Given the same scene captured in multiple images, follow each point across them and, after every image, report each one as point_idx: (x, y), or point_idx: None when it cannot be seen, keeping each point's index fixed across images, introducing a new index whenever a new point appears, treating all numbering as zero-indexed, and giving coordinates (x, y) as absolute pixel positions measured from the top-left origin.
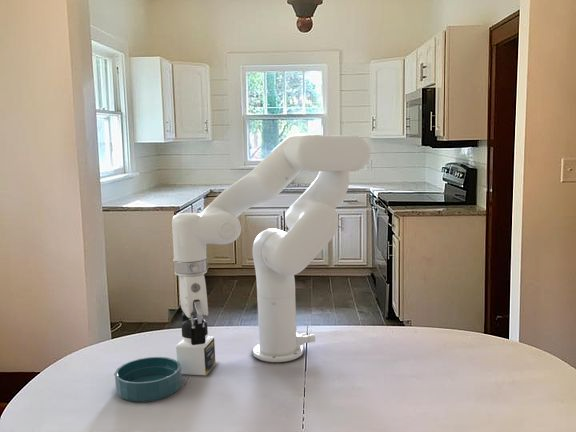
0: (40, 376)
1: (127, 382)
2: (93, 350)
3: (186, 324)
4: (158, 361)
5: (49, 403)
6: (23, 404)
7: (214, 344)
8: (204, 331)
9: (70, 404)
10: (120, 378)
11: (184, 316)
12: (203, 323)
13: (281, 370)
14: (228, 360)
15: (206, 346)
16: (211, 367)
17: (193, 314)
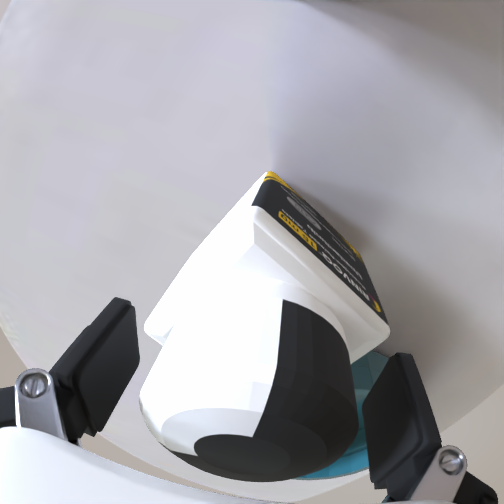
0: (141, 459)
1: (354, 473)
2: None
3: (270, 481)
4: None
5: (255, 482)
6: (237, 490)
7: (265, 194)
8: (429, 413)
9: None
10: (321, 477)
11: (97, 430)
12: (461, 475)
13: (474, 10)
14: (264, 101)
15: (376, 313)
16: (316, 212)
17: (70, 388)
